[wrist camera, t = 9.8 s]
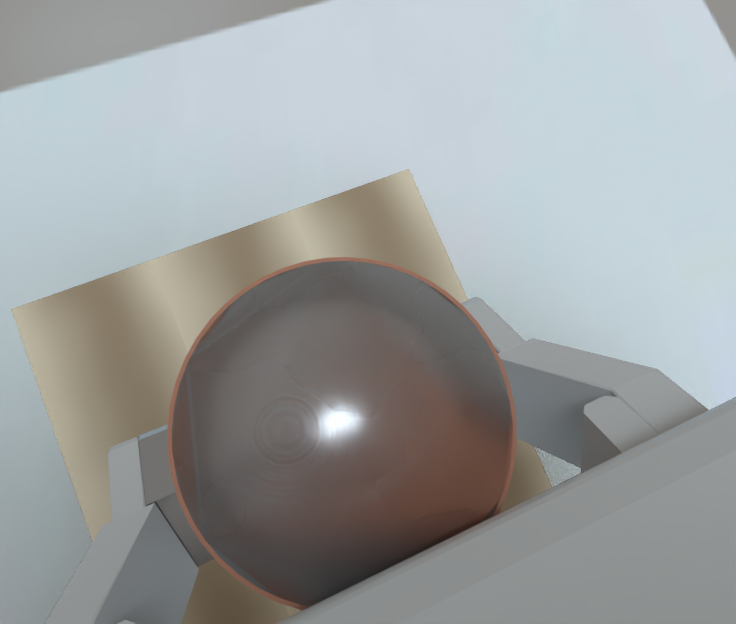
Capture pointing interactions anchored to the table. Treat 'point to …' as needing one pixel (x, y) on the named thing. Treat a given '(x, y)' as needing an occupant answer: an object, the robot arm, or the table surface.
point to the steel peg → (338, 427)
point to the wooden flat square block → (182, 326)
